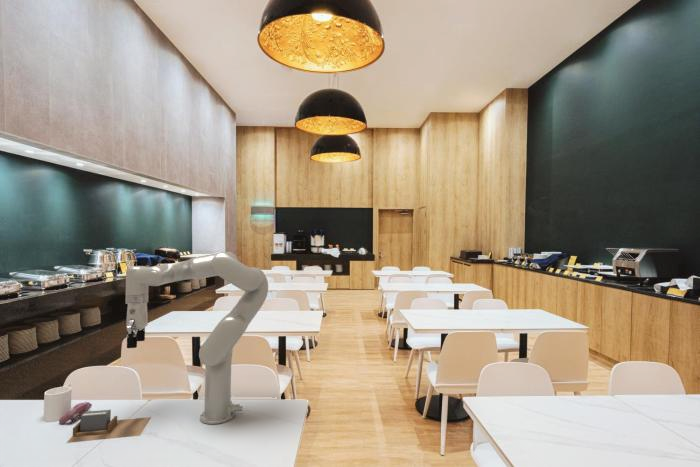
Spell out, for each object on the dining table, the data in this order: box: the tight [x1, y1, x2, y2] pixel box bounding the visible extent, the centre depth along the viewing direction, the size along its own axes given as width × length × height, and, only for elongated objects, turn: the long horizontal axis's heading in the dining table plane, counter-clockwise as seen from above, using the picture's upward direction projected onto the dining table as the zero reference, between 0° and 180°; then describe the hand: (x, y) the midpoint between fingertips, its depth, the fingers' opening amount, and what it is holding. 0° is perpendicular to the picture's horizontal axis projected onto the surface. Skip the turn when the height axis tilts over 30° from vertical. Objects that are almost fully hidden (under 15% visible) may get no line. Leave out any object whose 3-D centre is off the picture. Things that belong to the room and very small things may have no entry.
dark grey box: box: [79, 409, 112, 432], centre depth 133 cm, size 8×4×6 cm, turn 103°
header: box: [65, 415, 152, 444], centre depth 134 cm, size 22×14×4 cm, turn 103°
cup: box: [43, 383, 73, 423], centre depth 147 cm, size 8×12×10 cm
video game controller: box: [58, 401, 93, 425], centre depth 143 cm, size 10×5×7 cm, turn 170°
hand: (136, 344), depth 143 cm, fingers open, 9 cm apart
